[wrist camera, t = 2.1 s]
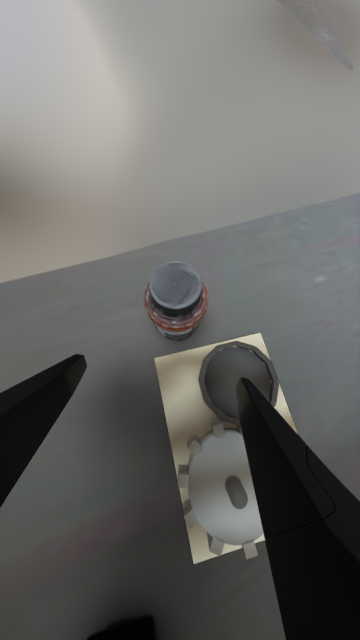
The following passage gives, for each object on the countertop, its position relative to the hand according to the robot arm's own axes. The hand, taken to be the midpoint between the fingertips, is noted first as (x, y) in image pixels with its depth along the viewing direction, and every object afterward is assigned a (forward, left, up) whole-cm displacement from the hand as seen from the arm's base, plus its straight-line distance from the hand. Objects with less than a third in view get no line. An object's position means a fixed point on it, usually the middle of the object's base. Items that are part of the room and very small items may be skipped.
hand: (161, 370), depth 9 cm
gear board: (-9, -5, -12) cm, 16 cm away
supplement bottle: (+6, -2, -12) cm, 14 cm away
